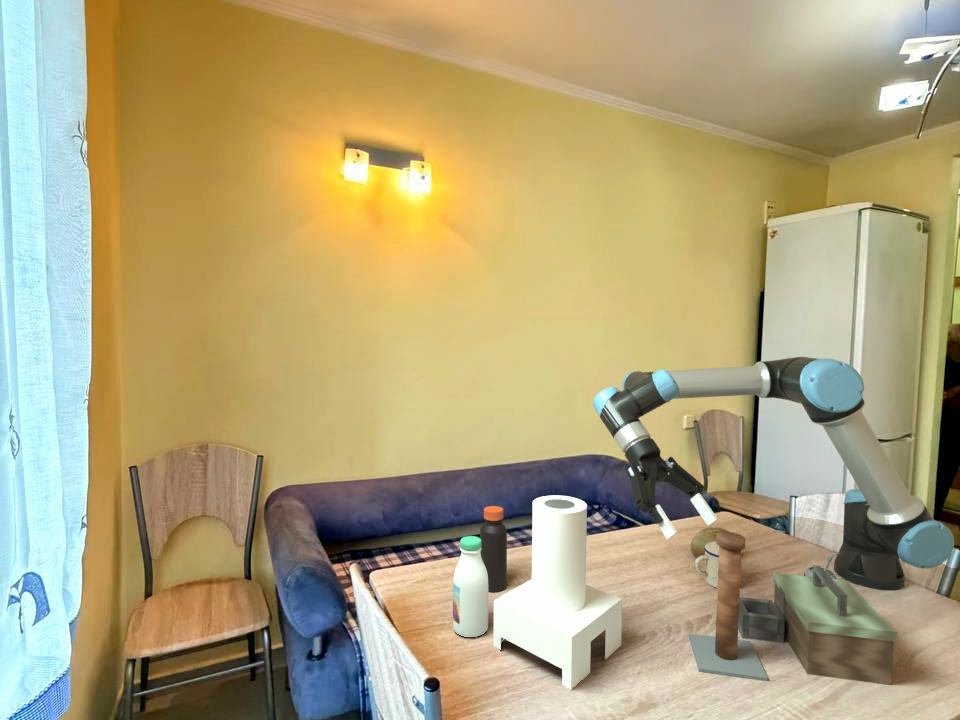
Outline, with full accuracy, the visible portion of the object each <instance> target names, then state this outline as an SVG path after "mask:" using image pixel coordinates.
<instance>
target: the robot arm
mask: <svg viewBox="0 0 960 720" xmlns="http://www.w3.org/2000/svg"><path fill="white" fill-rule="evenodd" d="M621 383H622V384H621V387H622V388H621V389H622V390H620V389H619V388H618V387H616V386H610V387H608V388H604V389H602V390H601V391H600V392H598V393H597V394H596V395H595V396H594V398H593V401H592V404H593V407H594V410H595V411H596V412H597V415H598V417H599V418H600V420H601V422H602V423H603V424H604V425H605V427H606V429H607V430H608V432H609V434H610V435H611V436H612V438H613V439H614V441H615V443H616V444H617V446H618V447H619V448H620V450H621V452H622V453H623V454H624V456H625V458H626V460H627V462H628V463H629V465H630V467H629V468H628V469H627V470H626V473H627V476H628V478H629V479H630V484H631V487H632V493H633V498H634V502H635V503H634V504H635V507H636V509H637V510H639V511H642V513H643V514H644V513H645V514H646V513H647V512H648V513H647V514H649V516H650V518H651V519H652V521H654V523H655V524H656V525H657V526H658V528H659V529H660V531H661V532H662V534H663V535H664V537H665V538H666V540H670V539H671V538H673V537H674V536H676V535H677V534H678V531H677V530H676V528H675V527H674V525H673V523H672V522H671V520H670V519H669V518H668V516H667V515H666V513H665V511H664V510H663V508H662V506H661V505H660V504H656V484H657V483H663V482H664V483H665V484H667V483H668V484H670V485H672V486H674V487H675V488H676V489H678V490H680V491H681V492H682V493H684V494H686V495H687V496H689V497H691V498H690V499H689V500H690V502H691V503H692V506H694V508H695V509H696V510H697V512H698V514H699V515H700V516H701V518H702V519H703V521H704V523H705V524H706V526H708V527H709V526H711V525H713V524H714V523H715V522H717V521H718V520H719V519H718V517H717V515H716V514H715V513H714V511H713V510H712V508H711V507H710V505H709V503H708V502H707V500H706V498H705V497H704V496H703V494H702V492H703V491H704V489H705V486H704V484H702V483H701V482H700V481H699V480H698V479H696V478H695V477H694V476H693V475H692V474H691V473H690V472H688V471H687V470H686V469H684V468H683V467H682V466H681V465H680V464H679V463H678V462H677V461H676V460H675V459H674V457H673V456H669V457H668V458H667V459H665V460H664V459H663V458H662V456H661V449H660V447H659V446H658V444H657V443H656V441H655V440H654V439H653V438H651V434H650V433H649V431H648V429H647V428H646V427H645V425H644V424H643V422H641V420H640V418H642V417H643V416H645V415H646V414H648V413H650V412H652V411H654V410H656V409H657V408H660V407H662V406H663V405H665V404H667V403H670V401H672V400H675V399H676V400H678V399H697V398H713V397H714V398H715V397H716V398H717V397H733V396H734V397H735V396H757V397H758V398H761V399H772V398H773V399H780V400H785V401H790V402H794V403H797V404H800V405H801V406H802V407H803V408H804V410H805V412H806V414H807V416H808V418H809V419H810V421H811V422H812V423H813V424H817V425H819V426H822V427H823V430H824V431H825V433H826V434H827V436H828V438H829V439H830V442H832V446H834V448H835V450H836V452H837V453H838V454H839V456H840V458H841V460H842V461H843V463H844V465H845V467H846V468H847V470H848V472H849V474H850V475H851V478H852V479H853V480H854V482H855V484H856V485H857V487H858V488H856V489H855V488H854V489H850V490H847V491H846V492H845V495H844V501H843V504H844V507H843V531H842V535H843V536H842V544H841V546H840V548H839V549H838V552H837V553H840V554H838V555H836V556H835V558H834V560H833V561H834V562H833V563H834V564H833V571H834V572H835V574H837V575H838V576H839V577H840V578H842V579H843V580H846V581H847V582H851V583H854V584H857V585H859V586H864V587H867V588H872V589H876V590H883V591H884V590H885V591H886V590H887V591H893V590H896V591H897V590H900V589H903V588H904V587H905V583H906V581H905V579H906V577H905V573H904V570H903V566H902V564H901V562H903V563H906V564H908V565H911V566H913V567H915V568H919V569H931V568H936V567H938V566H940V565H942V564H943V563H945V561H947V560H948V559H949V557H950V556H951V552H952V551H953V550H954V547H955V540H954V539H955V538H954V534H953V532H952V531H951V529H950V528H949V527H947V526H946V525H945V524H944V523H943V522H941V521H938V520H936V519H934V518H933V516H932V515H931V513H930V512H929V510H928V508H927V507H926V504H925V503H924V501H923V500H922V499H921V498H919V497H917V496H916V495H912V494H910V492H909V491H908V489H907V487H906V486H905V484H904V482H903V480H902V479H901V477H900V475H899V473H898V472H897V470H896V468H895V466H894V465H893V463H892V462H891V459H890V458H889V456H888V454H887V453H886V451H885V449H884V448H883V446H882V444H881V442H880V441H879V439H878V437H877V436H876V434H875V432H874V431H873V429H872V427H871V425H870V424H869V422H868V420H867V418H866V417H865V415H864V413H863V412H862V411H863V409H864V408H865V404H866V402H865V400H864V398H863V397H864V395H863V392H864V391H865V385H864V380H863V378H862V376H861V374H860V373H859V372H858V371H857V369H855V367H854V366H851V365H850V364H849V363H846V362H843V361H841V360H837V359H834V358H816V357H809V356H807V357H806V356H796V357H789V358H787V357H786V358H782V359H781V358H780V359H775V360H773V359H772V360H765V361H764V360H763V361H757V362H756V363H755V364H754V365H747V366H745V365H743V366H731V367H730V366H729V367H728V366H727V367H714V368H713V367H712V368H711V367H710V368H693V369H692V368H691V369H677V370H666V369H664V368H662V369H659V370H657V371H644V372H643V371H640V370H638V371H630V372H629V373H627V374H626V375H625V376H624V378H623V379H622V382H621ZM900 560H901V561H900Z"/></svg>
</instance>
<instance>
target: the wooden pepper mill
mask: <svg viewBox="0 0 960 720" xmlns="http://www.w3.org/2000/svg"><path fill="white" fill-rule="evenodd" d="M716 543H717V544H718V545H719V565H718V588H717V592H716V593H717V595H716V618H715V637H716V639H715V653H716V655H717V656H719V657H720V658H722V659H725V660H735V659H737V647H738V640H739V630H738V623H739V600H740V597H741V596H740V595H741V586H740V576H741V577H742V565H741V553H743V551H742V550H745V548H746V536H743V535H741V534H739V533H737V532H732V531H729V532H718V533H717V534H716Z"/></svg>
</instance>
